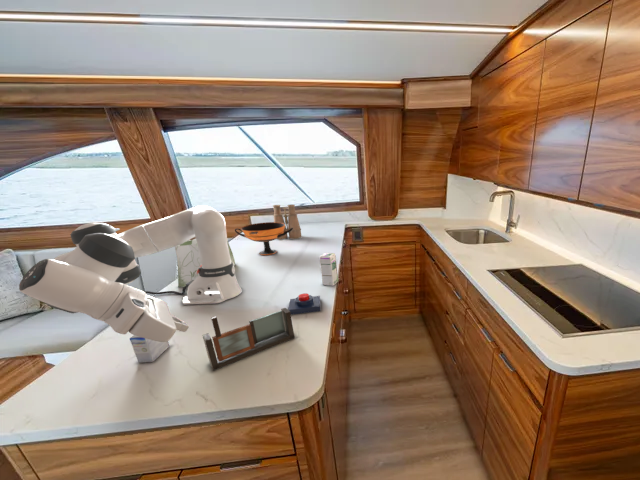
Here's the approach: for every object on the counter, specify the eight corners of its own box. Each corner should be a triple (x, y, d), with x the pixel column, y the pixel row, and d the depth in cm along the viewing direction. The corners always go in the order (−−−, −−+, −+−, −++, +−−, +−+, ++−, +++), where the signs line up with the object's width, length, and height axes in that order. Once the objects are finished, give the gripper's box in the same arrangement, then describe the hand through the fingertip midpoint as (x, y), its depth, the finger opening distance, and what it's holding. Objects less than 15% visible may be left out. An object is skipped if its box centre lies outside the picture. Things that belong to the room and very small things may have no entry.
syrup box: (333, 285, 141) (330, 256, 136) (322, 285, 142) (319, 256, 137) (338, 281, 146) (335, 253, 141) (327, 280, 147) (324, 252, 142)
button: (298, 302, 117) (298, 298, 116) (299, 297, 121) (298, 294, 120) (309, 300, 118) (308, 296, 117) (309, 296, 121) (308, 292, 121)
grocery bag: (212, 264, 172) (202, 225, 164) (236, 264, 173) (228, 224, 165) (176, 287, 142) (163, 240, 134) (207, 285, 143) (195, 239, 135)
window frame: (213, 370, 85) (205, 340, 81) (210, 364, 87) (202, 335, 84) (294, 338, 100) (290, 311, 96) (289, 333, 102) (285, 307, 99)
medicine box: (156, 347, 96) (148, 323, 93) (170, 346, 96) (163, 323, 93) (137, 363, 88) (128, 338, 85) (153, 362, 89) (144, 337, 86)
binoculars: (303, 235, 236) (299, 203, 227) (300, 238, 226) (295, 205, 218) (277, 236, 235) (272, 204, 226) (272, 239, 225) (267, 206, 217)
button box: (288, 315, 114) (287, 305, 113) (290, 303, 124) (289, 295, 122) (320, 311, 117) (319, 302, 116) (320, 300, 126) (319, 291, 125)
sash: (219, 362, 85) (207, 320, 81) (218, 360, 86) (207, 318, 82) (255, 347, 92) (247, 308, 87) (254, 346, 92) (245, 306, 88)
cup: (301, 247, 205) (298, 221, 199) (288, 258, 181) (284, 230, 175) (249, 247, 205) (245, 222, 199) (230, 259, 181) (223, 231, 175)
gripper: (115, 303, 75) (173, 323, 85) (115, 335, 61) (184, 355, 71) (132, 282, 77) (187, 304, 86) (137, 309, 62) (202, 332, 72)
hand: (186, 327), depth 78 cm, fingers closed
